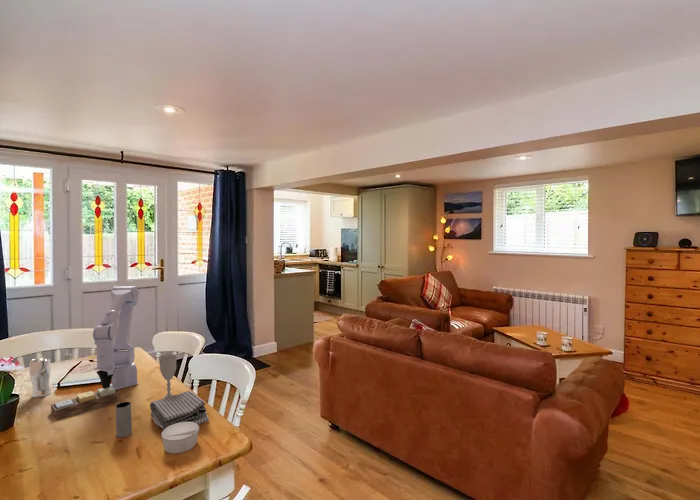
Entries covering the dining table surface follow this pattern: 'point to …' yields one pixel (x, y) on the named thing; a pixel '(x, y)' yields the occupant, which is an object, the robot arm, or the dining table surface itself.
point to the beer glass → (40, 376)
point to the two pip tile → (85, 396)
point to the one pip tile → (105, 391)
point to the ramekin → (180, 437)
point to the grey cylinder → (123, 419)
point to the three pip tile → (63, 404)
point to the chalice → (168, 369)
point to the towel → (179, 410)
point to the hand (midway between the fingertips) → (106, 387)
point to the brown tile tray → (85, 405)
